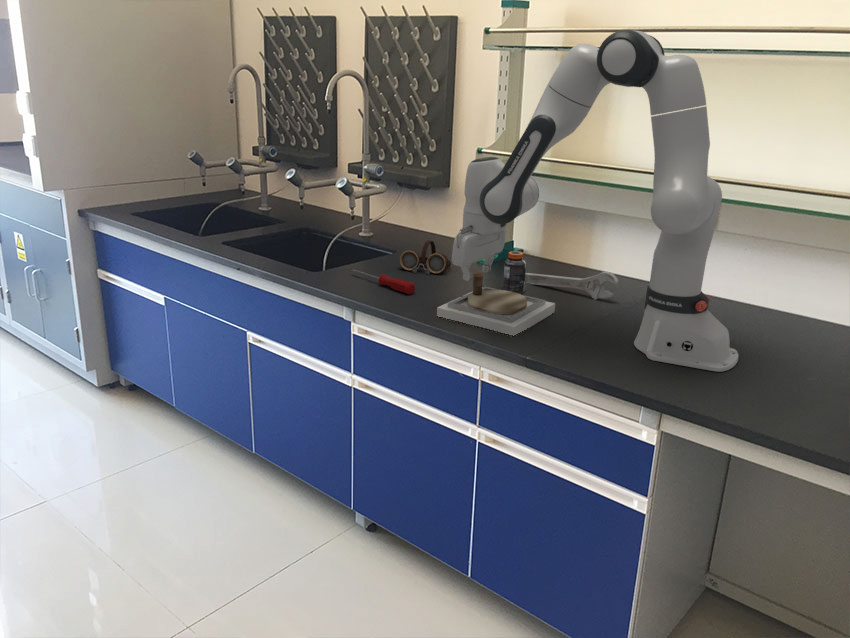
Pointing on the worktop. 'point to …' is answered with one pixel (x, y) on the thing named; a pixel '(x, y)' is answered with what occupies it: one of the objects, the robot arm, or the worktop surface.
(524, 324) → the control plate
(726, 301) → the worktop surface
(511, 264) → the pill bottle
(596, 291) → the wrench
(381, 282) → the screwdriver
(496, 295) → the dial
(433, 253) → the goggles
